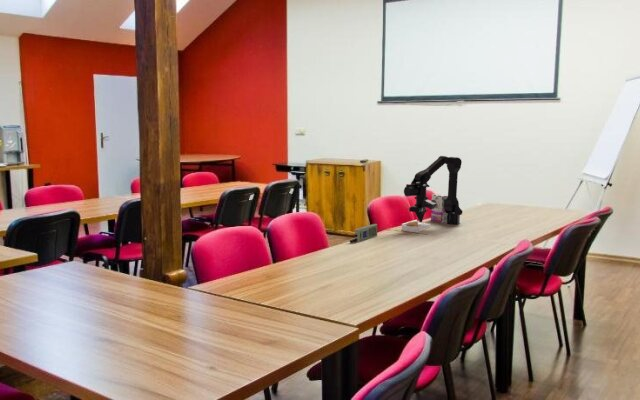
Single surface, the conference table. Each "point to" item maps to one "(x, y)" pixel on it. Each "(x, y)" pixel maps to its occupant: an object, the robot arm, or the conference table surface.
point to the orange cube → (413, 223)
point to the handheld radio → (365, 233)
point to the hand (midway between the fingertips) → (420, 222)
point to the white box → (414, 228)
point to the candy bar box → (439, 209)
